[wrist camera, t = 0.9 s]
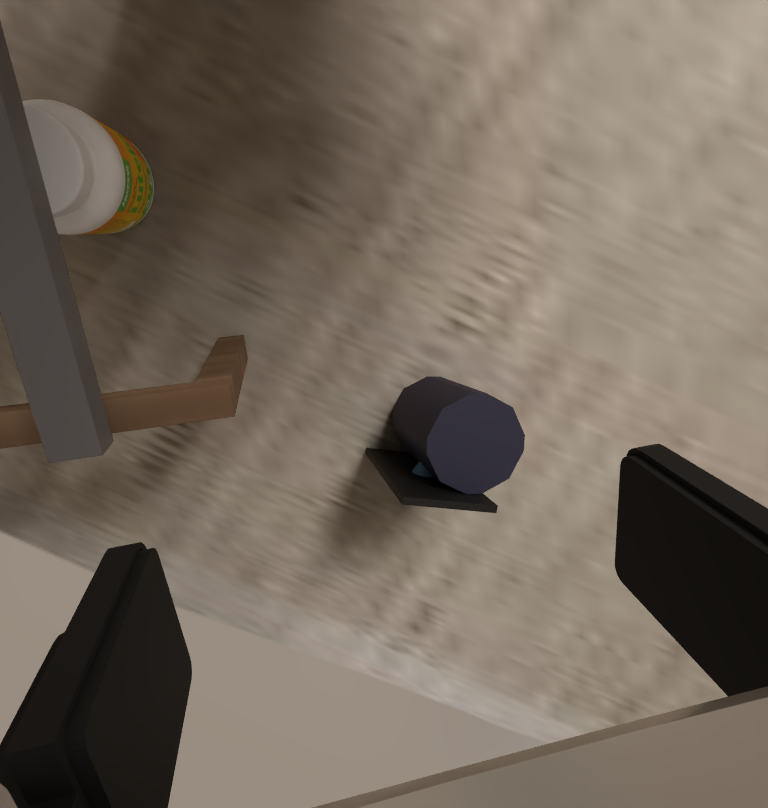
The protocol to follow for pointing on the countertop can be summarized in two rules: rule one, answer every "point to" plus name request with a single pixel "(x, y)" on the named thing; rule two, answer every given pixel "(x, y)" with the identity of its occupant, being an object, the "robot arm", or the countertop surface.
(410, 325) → the countertop surface
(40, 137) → the supplement bottle
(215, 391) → the frame
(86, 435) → the tie bar
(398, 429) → the speaker
